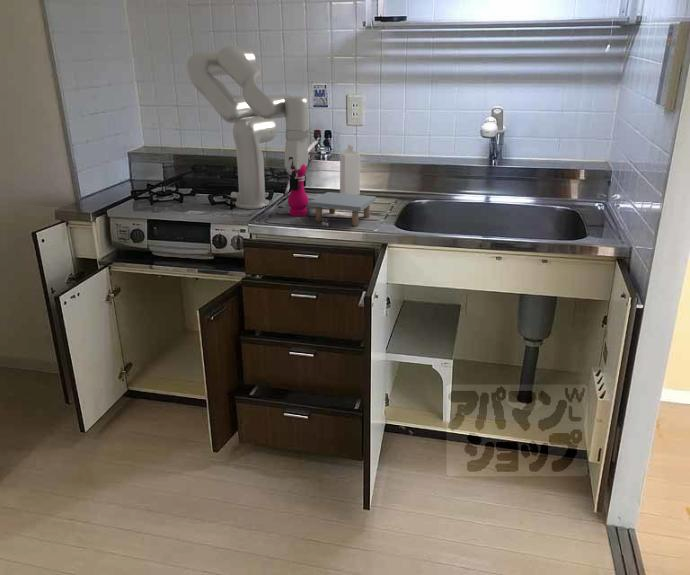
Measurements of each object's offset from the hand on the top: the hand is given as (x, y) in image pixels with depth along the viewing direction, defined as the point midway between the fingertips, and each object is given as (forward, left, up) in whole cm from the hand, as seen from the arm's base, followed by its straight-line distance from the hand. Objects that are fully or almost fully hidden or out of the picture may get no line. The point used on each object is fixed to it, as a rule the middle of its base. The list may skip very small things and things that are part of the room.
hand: (297, 187), depth 209 cm
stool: (+17, 0, -9) cm, 19 cm away
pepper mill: (0, 0, -10) cm, 10 cm away
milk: (+12, +20, -10) cm, 25 cm away
